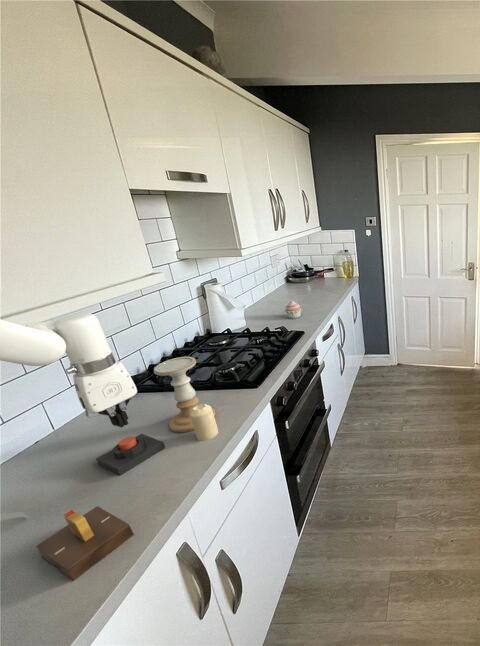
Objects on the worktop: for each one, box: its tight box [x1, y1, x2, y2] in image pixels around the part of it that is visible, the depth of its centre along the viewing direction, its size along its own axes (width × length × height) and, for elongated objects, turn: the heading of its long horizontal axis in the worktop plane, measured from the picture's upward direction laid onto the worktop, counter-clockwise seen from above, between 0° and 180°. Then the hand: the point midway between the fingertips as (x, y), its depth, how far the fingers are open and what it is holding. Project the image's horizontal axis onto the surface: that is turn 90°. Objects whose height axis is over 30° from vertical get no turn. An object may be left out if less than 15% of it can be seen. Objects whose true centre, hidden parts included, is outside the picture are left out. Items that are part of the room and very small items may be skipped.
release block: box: [95, 433, 166, 477], centre depth 95 cm, size 11×10×4 cm
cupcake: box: [284, 300, 303, 320], centre depth 198 cm, size 9×9×10 cm
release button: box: [117, 435, 137, 450], centre depth 94 cm, size 4×4×2 cm
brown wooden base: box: [35, 506, 135, 581], centre depth 71 cm, size 10×12×3 cm
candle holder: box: [153, 356, 216, 434], centre depth 106 cm, size 12×12×20 cm
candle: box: [189, 403, 219, 442], centre depth 101 cm, size 6×6×10 cm
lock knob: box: [63, 509, 94, 542], centre depth 69 cm, size 5×2×5 cm, turn 66°
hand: (121, 424), depth 92 cm, fingers closed
